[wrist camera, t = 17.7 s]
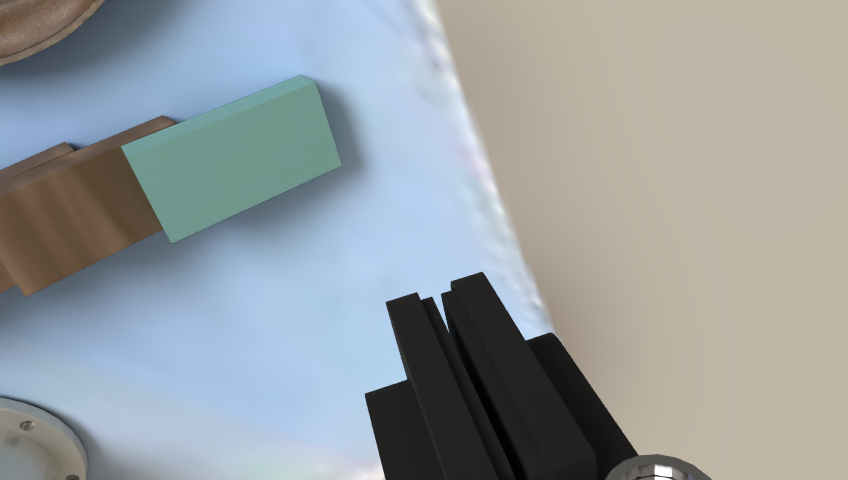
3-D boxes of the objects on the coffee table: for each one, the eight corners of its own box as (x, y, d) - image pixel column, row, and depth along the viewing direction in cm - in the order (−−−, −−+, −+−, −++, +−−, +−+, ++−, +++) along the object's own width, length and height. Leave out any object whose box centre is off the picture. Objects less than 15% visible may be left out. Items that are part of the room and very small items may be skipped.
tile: (327, 155, 38) (163, 229, 35) (301, 74, 36) (120, 146, 32) (342, 165, 37) (171, 243, 33) (315, 81, 34) (127, 157, 31)
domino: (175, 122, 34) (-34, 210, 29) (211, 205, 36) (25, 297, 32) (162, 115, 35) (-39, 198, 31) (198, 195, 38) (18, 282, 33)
